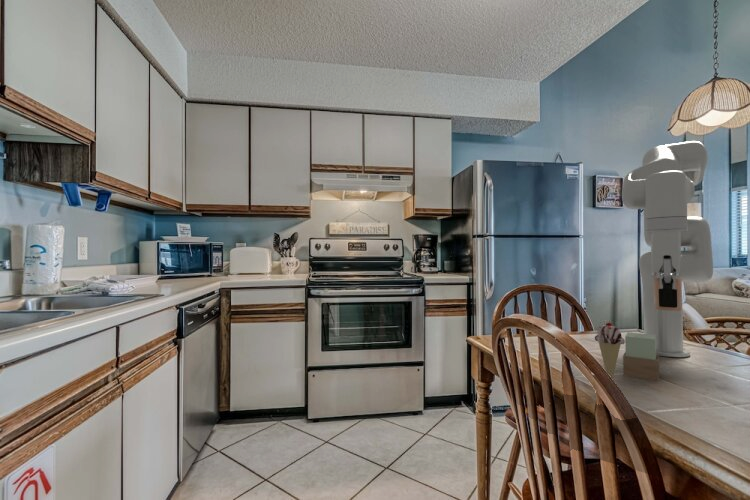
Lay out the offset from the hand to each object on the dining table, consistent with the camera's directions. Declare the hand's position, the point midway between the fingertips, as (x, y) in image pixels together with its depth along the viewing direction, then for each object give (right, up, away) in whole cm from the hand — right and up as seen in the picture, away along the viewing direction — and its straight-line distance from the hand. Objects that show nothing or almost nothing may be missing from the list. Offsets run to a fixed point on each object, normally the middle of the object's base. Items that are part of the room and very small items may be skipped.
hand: (667, 304), depth 84 cm
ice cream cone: (-13, -19, 0) cm, 23 cm away
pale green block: (+1, -14, +9) cm, 17 cm away
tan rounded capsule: (0, -1, 0) cm, 1 cm away
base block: (+1, -19, +9) cm, 21 cm away
